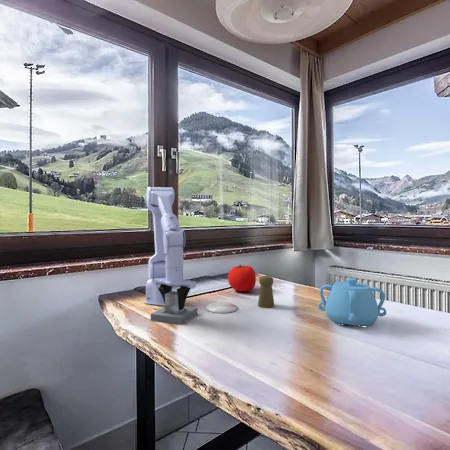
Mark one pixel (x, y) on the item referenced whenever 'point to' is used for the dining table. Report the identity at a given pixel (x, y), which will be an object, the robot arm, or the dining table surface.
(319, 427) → the dining table surface
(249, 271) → the tomato
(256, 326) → the dining table surface
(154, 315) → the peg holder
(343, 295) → the decorative pot
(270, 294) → the cork
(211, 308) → the ceramic coaster
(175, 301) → the grey-blue peg
